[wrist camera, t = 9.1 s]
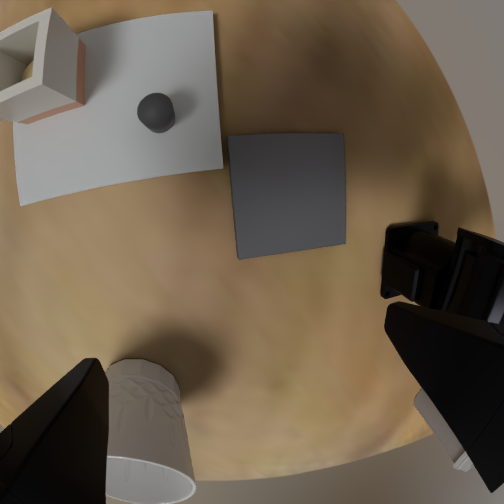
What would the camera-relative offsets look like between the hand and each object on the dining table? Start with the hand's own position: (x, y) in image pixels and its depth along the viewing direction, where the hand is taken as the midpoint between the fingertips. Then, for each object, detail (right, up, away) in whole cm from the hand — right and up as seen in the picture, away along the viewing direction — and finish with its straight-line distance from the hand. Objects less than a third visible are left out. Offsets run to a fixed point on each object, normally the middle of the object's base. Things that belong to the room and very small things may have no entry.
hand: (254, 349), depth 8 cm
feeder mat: (+3, +7, +11) cm, 13 cm away
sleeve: (-12, +13, +5) cm, 19 cm away
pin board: (-9, +12, +7) cm, 17 cm away
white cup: (-10, -9, +14) cm, 19 cm away
